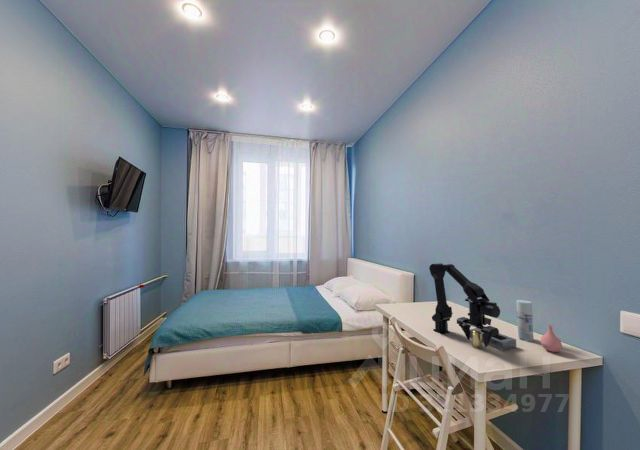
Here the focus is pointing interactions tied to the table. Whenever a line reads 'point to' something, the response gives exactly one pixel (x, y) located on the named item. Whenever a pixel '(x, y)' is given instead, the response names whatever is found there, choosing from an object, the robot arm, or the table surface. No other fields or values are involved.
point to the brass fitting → (477, 339)
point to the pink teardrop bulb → (551, 341)
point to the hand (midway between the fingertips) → (477, 343)
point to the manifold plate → (499, 341)
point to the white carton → (525, 320)
